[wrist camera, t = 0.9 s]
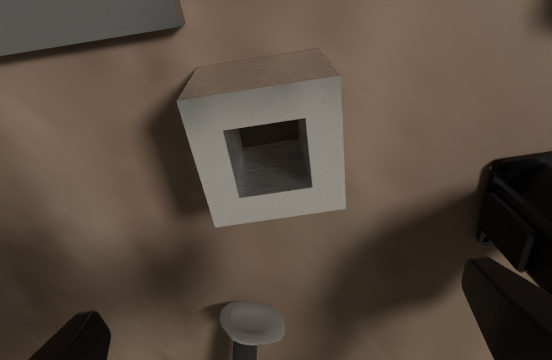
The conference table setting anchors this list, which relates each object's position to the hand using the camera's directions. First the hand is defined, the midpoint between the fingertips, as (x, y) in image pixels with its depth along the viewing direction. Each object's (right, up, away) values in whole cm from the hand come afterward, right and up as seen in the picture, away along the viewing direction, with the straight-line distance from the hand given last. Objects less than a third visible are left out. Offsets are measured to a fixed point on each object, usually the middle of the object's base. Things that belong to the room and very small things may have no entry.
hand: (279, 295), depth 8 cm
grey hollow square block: (-1, +6, +10) cm, 12 cm away
